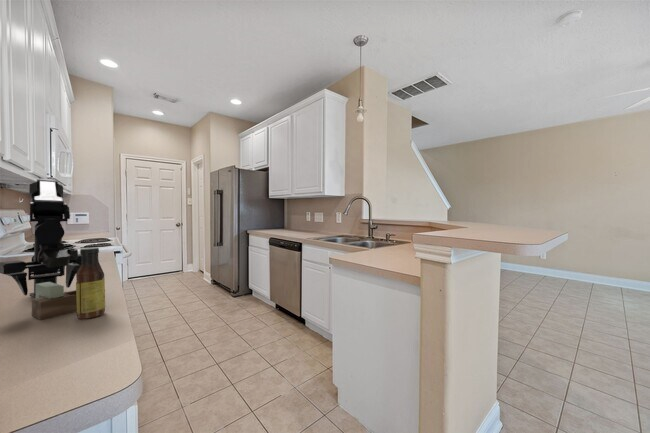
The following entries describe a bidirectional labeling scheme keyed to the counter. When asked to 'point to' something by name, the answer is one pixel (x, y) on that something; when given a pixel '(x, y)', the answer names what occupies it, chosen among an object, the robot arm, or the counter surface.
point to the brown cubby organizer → (54, 306)
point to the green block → (49, 290)
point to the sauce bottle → (90, 285)
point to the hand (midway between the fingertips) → (47, 291)
